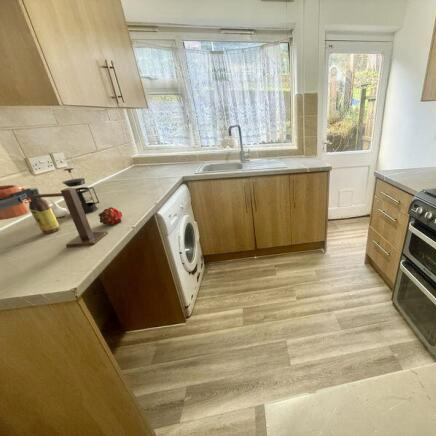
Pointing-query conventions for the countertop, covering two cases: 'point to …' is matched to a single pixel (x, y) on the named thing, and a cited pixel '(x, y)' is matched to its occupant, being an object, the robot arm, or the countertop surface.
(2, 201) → the robot arm
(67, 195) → the mug stand
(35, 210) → the sauce bottle
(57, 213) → the garlic bulb
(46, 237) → the countertop surface
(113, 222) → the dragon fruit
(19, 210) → the mug
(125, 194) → the countertop surface
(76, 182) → the french press
